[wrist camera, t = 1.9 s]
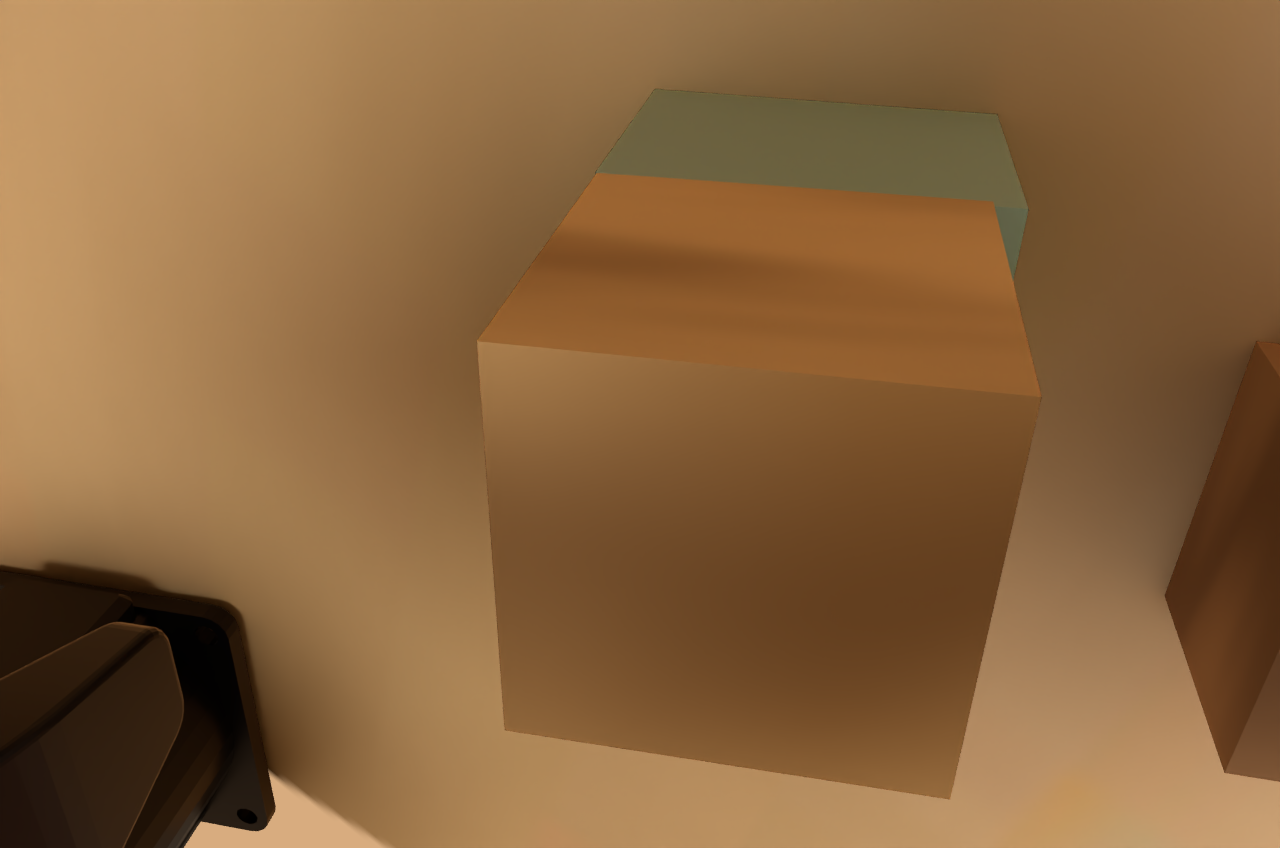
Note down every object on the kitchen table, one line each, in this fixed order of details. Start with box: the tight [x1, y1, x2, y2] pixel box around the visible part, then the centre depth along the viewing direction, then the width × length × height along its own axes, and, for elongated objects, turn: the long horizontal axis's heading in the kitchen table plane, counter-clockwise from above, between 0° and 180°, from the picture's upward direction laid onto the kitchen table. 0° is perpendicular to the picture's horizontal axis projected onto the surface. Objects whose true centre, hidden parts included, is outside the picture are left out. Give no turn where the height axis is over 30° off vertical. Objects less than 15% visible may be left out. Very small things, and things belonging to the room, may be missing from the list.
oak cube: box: [477, 173, 1041, 799], centre depth 12 cm, size 4×4×4 cm
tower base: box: [595, 89, 1029, 280], centre depth 15 cm, size 5×5×4 cm
